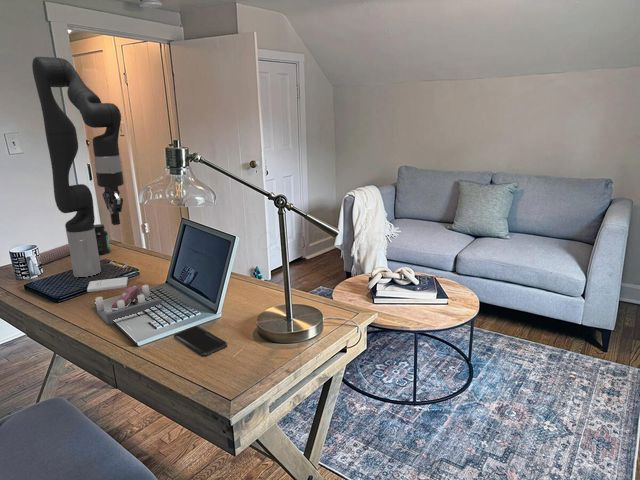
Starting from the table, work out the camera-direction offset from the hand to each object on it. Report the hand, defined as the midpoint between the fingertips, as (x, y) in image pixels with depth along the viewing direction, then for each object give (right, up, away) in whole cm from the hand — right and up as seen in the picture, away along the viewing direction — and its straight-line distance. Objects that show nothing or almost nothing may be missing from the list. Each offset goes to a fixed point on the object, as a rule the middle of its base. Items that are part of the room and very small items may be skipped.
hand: (116, 224), depth 146 cm
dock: (+7, -27, -7) cm, 29 cm away
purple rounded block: (+5, -26, -3) cm, 26 cm away
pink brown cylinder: (-43, -13, +41) cm, 61 cm away
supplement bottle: (-28, -11, +48) cm, 57 cm away
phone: (+34, -33, -25) cm, 53 cm away
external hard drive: (-8, -22, +13) cm, 27 cm away
